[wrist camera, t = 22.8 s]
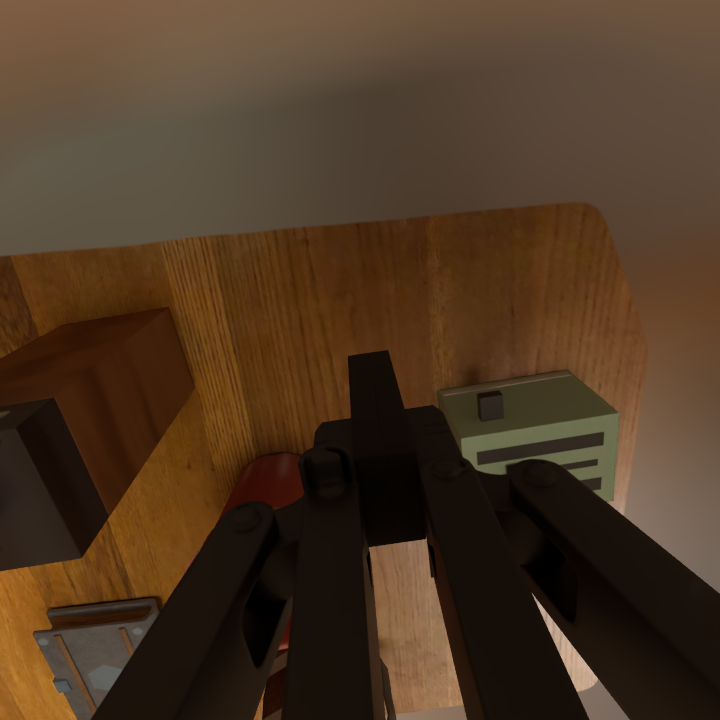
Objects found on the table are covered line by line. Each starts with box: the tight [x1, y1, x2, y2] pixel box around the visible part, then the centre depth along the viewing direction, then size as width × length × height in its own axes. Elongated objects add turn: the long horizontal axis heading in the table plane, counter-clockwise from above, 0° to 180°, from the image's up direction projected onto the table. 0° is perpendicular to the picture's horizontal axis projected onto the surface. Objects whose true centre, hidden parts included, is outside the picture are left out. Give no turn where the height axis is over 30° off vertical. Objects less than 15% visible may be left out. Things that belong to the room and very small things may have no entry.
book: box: [33, 598, 160, 720], centre depth 67 cm, size 21×16×5 cm
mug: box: [262, 648, 396, 720], centre depth 65 cm, size 20×14×15 cm
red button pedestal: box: [0, 307, 195, 571], centre depth 40 cm, size 12×10×26 cm
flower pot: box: [183, 453, 304, 650], centre depth 53 cm, size 16×16×16 cm
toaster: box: [438, 370, 620, 502], centre depth 52 cm, size 16×14×11 cm
